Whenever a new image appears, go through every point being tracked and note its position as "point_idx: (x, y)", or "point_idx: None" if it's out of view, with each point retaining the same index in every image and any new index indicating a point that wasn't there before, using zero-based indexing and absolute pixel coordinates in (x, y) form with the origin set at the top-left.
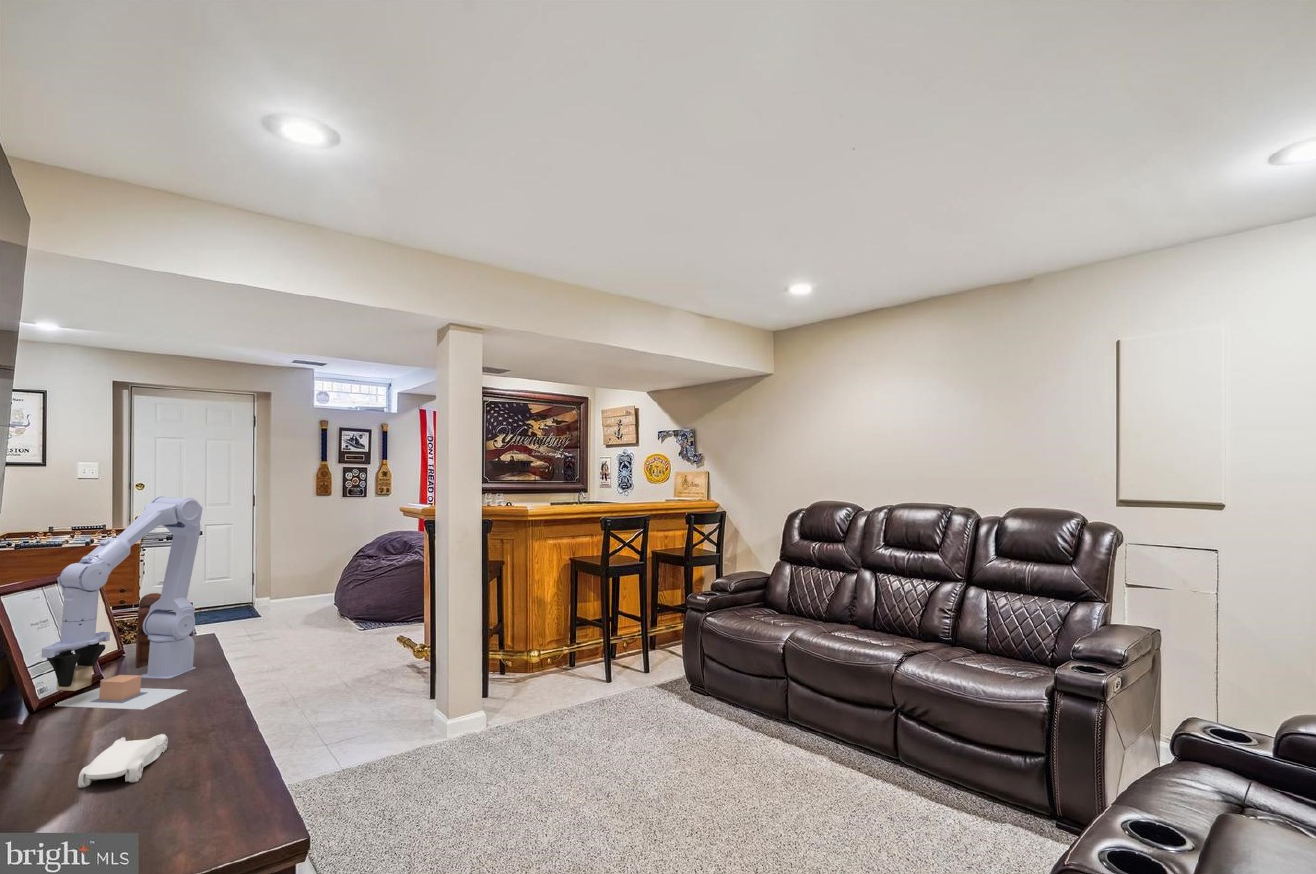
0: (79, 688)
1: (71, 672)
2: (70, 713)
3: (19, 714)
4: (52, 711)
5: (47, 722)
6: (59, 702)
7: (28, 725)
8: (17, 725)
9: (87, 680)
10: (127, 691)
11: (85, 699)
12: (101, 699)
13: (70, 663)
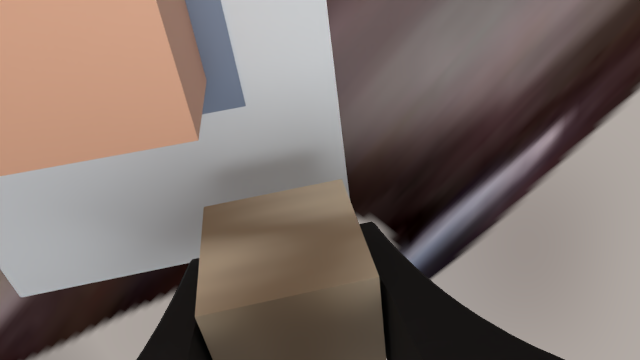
0: (304, 189)
1: (412, 283)
2: (400, 52)
3: (442, 248)
4: (386, 169)
5: (546, 25)
6: None
7: (586, 73)
8: (582, 121)
9: (241, 226)
10: None
11: (219, 173)
12: (202, 65)
13: (507, 338)
